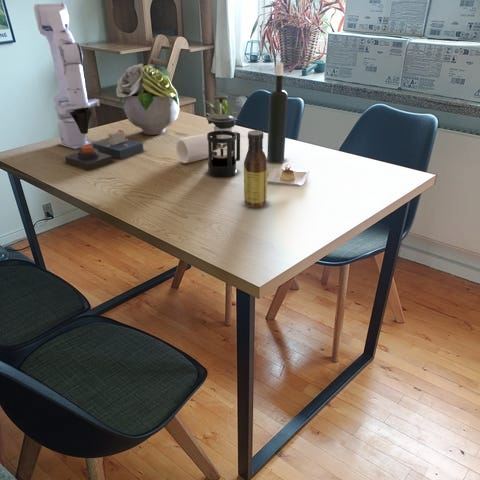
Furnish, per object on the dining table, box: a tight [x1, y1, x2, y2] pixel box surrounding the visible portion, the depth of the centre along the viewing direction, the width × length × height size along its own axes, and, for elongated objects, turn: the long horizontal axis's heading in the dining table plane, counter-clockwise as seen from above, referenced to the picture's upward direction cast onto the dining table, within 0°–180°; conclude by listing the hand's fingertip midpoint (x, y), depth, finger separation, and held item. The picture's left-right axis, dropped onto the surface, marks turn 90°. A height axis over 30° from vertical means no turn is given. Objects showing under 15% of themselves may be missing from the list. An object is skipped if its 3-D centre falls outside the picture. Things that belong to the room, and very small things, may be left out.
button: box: [80, 144, 93, 153], centre depth 163 cm, size 4×4×2 cm
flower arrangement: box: [115, 63, 180, 136], centre depth 188 cm, size 25×25×24 cm
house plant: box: [203, 99, 237, 146], centre depth 180 cm, size 14×14×16 cm
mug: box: [175, 133, 209, 164], centre depth 167 cm, size 12×10×8 cm
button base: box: [64, 148, 114, 171], centre depth 165 cm, size 12×10×4 cm
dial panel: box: [91, 137, 145, 160], centre depth 175 cm, size 14×11×3 cm
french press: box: [206, 95, 241, 179], centre depth 152 cm, size 12×9×23 cm
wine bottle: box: [266, 62, 289, 164], centre depth 160 cm, size 6×6×30 cm
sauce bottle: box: [243, 129, 268, 209], centre depth 132 cm, size 6×6×20 cm
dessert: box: [267, 164, 310, 187], centre depth 153 cm, size 12×12×5 cm
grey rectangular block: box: [107, 129, 126, 145], centre depth 173 cm, size 6×2×4 cm, turn 143°
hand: (84, 133), depth 160 cm, fingers closed
